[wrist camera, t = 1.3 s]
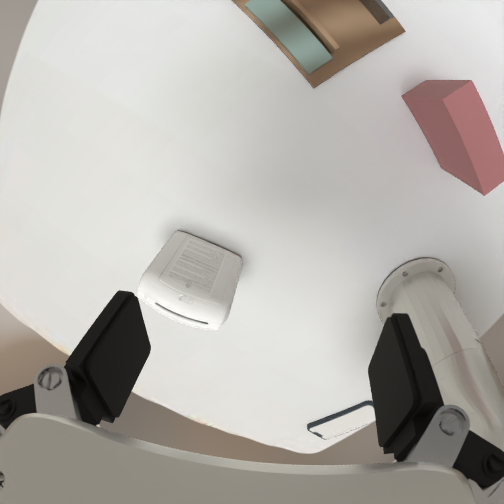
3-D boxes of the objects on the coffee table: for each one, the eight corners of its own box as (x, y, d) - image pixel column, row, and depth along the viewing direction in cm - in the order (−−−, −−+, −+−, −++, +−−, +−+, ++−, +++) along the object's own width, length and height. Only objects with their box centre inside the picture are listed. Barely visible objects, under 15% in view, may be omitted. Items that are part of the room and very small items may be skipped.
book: (463, 152, 29) (510, 175, 20) (441, 168, 30) (484, 195, 22) (425, 80, 26) (471, 80, 17) (401, 95, 27) (442, 99, 19)
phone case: (369, 396, 53) (304, 423, 59) (370, 402, 52) (304, 429, 58) (385, 410, 56) (325, 435, 62) (386, 416, 54) (325, 440, 60)
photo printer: (165, 251, 40) (127, 309, 30) (173, 224, 38) (132, 278, 27) (235, 280, 41) (217, 347, 31) (247, 256, 39) (232, 320, 28)
